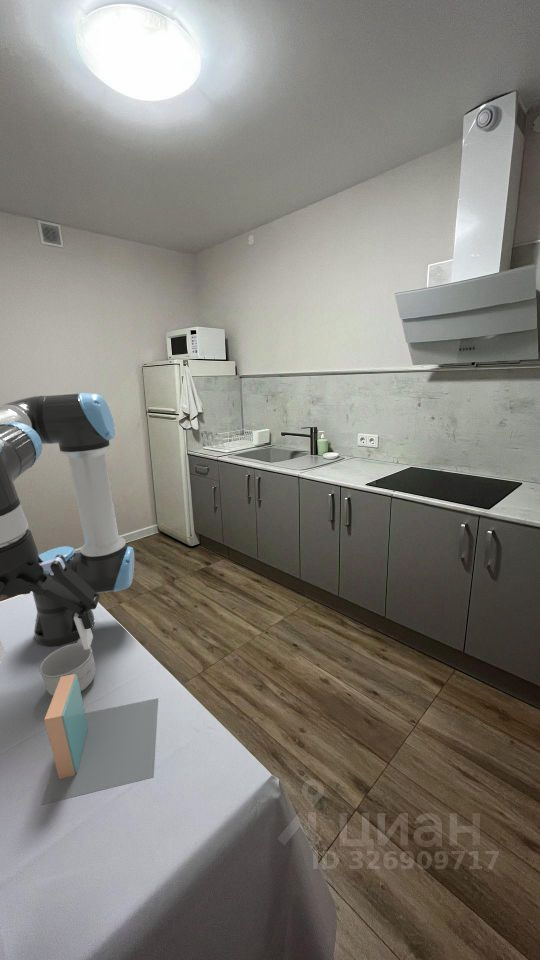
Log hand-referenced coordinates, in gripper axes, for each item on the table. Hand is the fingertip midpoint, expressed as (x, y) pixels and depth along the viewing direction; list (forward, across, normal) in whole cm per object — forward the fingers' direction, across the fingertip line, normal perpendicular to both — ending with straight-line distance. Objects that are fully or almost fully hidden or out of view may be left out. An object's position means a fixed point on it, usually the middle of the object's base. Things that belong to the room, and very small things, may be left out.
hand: (45, 651), depth 64 cm
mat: (+26, +3, +2) cm, 27 cm away
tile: (+26, -3, +1) cm, 26 cm away
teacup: (+28, -8, +21) cm, 36 cm away
